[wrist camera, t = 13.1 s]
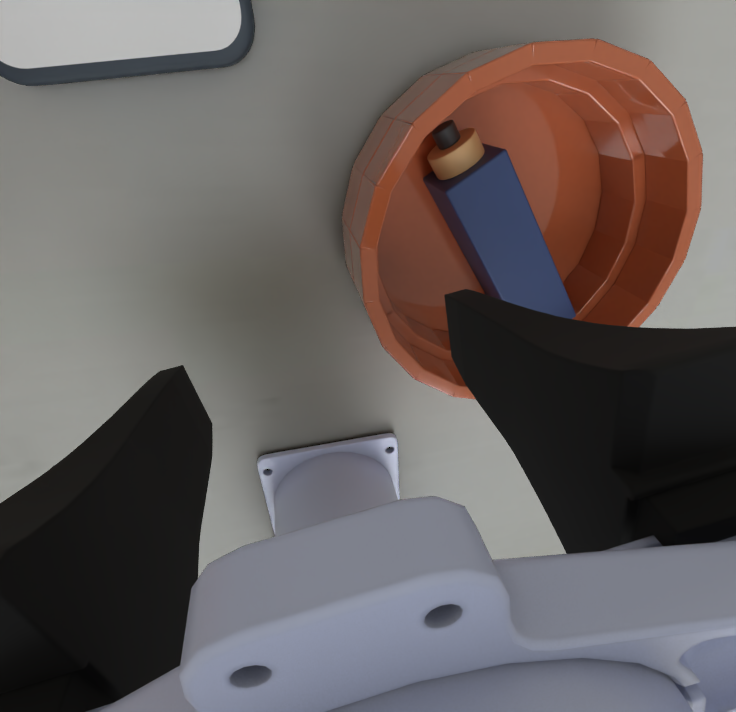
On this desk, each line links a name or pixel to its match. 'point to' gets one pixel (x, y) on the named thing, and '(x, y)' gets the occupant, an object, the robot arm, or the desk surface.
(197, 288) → the desk surface
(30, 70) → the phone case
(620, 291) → the bowl
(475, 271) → the pencil
